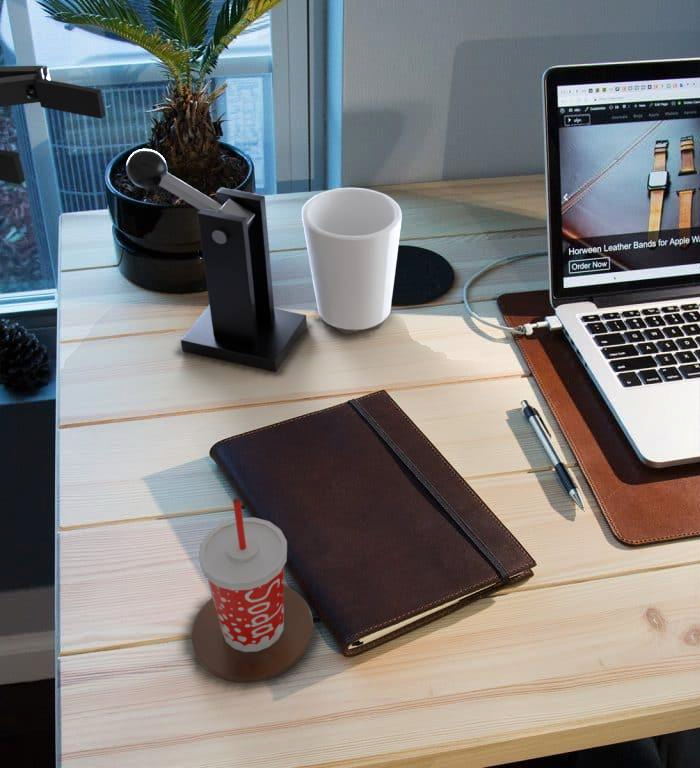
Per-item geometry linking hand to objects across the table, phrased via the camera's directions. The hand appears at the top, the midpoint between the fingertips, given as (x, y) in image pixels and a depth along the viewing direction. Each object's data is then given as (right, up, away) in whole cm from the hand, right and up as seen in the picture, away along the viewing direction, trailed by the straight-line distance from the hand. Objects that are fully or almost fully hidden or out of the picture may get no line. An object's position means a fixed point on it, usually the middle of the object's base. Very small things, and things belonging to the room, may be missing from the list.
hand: (62, 135), depth 96 cm
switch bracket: (+14, -18, +11) cm, 25 cm away
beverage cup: (+22, -42, -17) cm, 50 cm away
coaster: (+22, -42, -16) cm, 50 cm away
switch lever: (+11, -6, +2) cm, 12 cm away
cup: (+25, -16, +15) cm, 33 cm away
